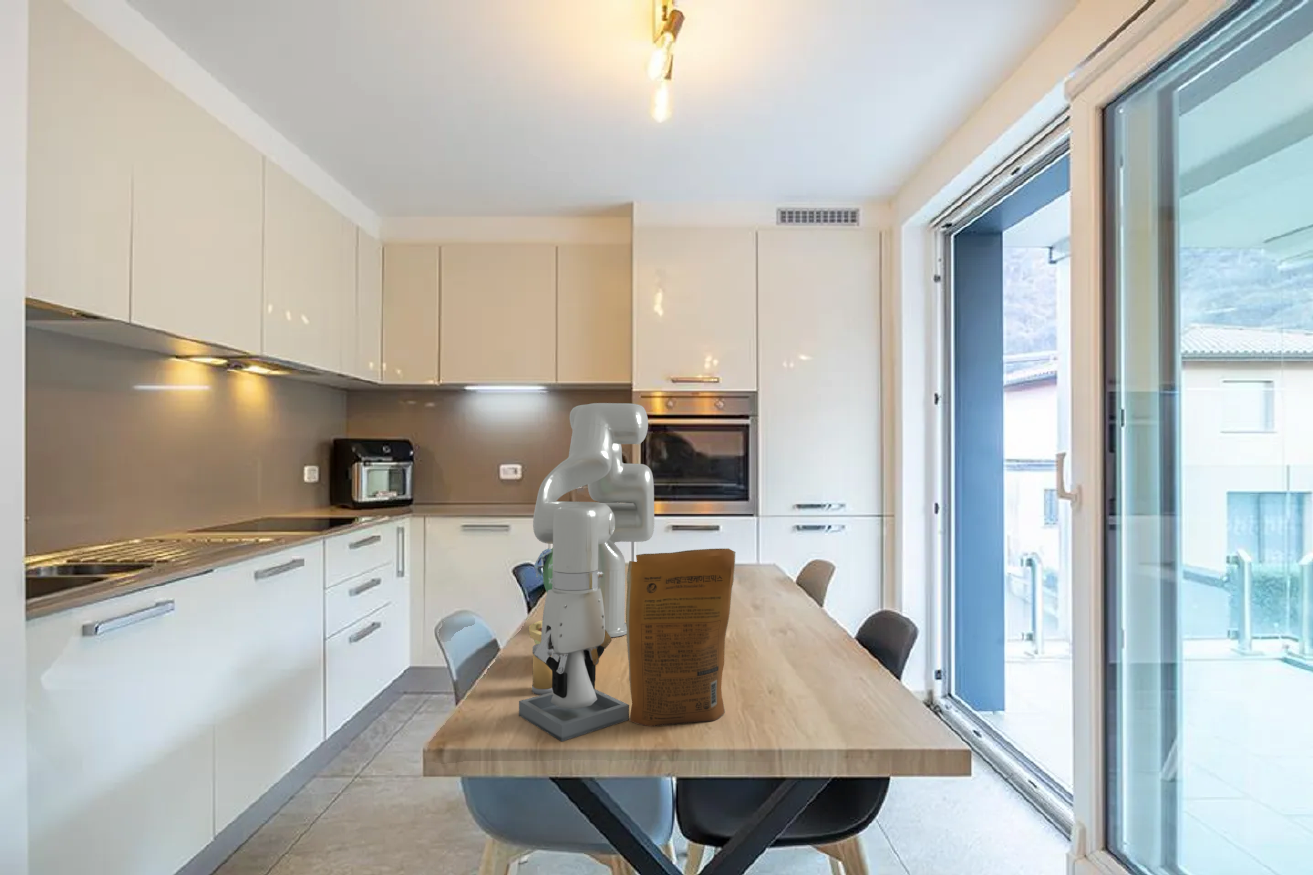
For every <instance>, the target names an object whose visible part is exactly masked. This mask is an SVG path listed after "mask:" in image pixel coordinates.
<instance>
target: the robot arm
mask: <svg viewBox="0 0 1313 875" xmlns="http://www.w3.org/2000/svg"><path fill="white" fill-rule="evenodd" d="M569 424H570V427H571V429H572V431H571V432H572V434H571V440H570V446H569V450H568V451H569V452H568V457H567V458H565V459H564V460H563V461H561V462H560V463H559V464H557V465H556V466H555V467H554V468H553V469H552V470H551V471H550V472H549V473H548V474H547V475H546V476H545V477H544V479H543V481H542V482H541V483H540V486H539V489H538V491H537V496H536V497H537V498H536V502H535V506H534V511H533V512H534V513H533V517H532V518H533V519H532V527H533V528H532V529H533V533H534V536H535V537H536V539H537V540H538V541H539V542H541V543H543V544H552V548H553V578H552V589H551V590H548V592H546V597H545V602H544V606H543V613H542V633H541V643H540V644H539V646H538V648H537V649H536V651H535V653H534V655H535V657H537V658H538V659H540V660H541V661H543V662H544V663H545V664H546V665H547V666H548V667H549V669H551V670H552V690H553V693H554V694H555V695H557V696H559V697H561V698H565V697H566V695H567V673H566V672H564V668H565V664H566V660H567V655H568V654H569V653H573V652H578V651H582V650H583V655H584V661H585V666H586V669H587V672H588V675H589V678H590V681H591V683H592V686H593V689H596V677H597V676H596V667H597V666H596V665H599V662H600V658H601V656H602V655H603V654H604V651H605V649H606V648H607V647H608V646H609V645H610V644H611V642H612V641H613V639H612V638H617V637H622V636H625V635H627V626H626V597H625V596H626V560H625V556H624V554H623V553H622V551H621V550H620V549H619V547H618V546H617V545H616V543H620V542H622V543H623V542H625V543H629V542H630V543H635V542H636V543H640V542H641V543H643V542H647V541H649V540H650V539H651V538H652V537H653V535H654V531H655V486H654V477H653V472H652V469H651V468H650V467H649V466H648V465H646V464H643V463H624V462H623V452H622V451H623V448H622V445H640V444H642V442H644V440H645V439H646V438H647V437H646V436H647V434H648V430H649V429H648V428H649V419H648V414H647V411H646V409H645V408H644V406H643V405H641V404H637V403H628V402H627V403H623V402H622V403H619V402H617V403H614V402H612V403H611V402H608V403H607V402H598V403H597V402H594V403H593V402H592V403H589V404H581V405H580V404H579V405H576V406H574V407H573V408H572V409H571V411H570V412H569ZM585 486H587V490H588V494H589V496H590V498H591V499H592V500H593V501H565V500H564V501H562V500H561V501H559V499H561V497H563V495H566V494H567V493H569V492H571V491H574V490H576V489H579V488H583V487H585ZM550 649H553V651H552V655H551V656H549V655H548V653H547V652H548V650H550Z"/></svg>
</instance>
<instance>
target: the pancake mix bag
mask: <svg viewBox="0 0 1313 875" xmlns="http://www.w3.org/2000/svg"><path fill="white" fill-rule="evenodd" d="M635 557H636V561H633V560H629V561H628V568H627V574H626V597H625V623H626V626H627V634H626V646H627V659H628V675H629V676H628V679H629V680H628V681H629V689H630V697H631V708H630V712H629V720H628V721H629V722H632V723H634V724H637V725H641V726H643V727H644V726H645V727H661V726H671V725H679V724H680V725H681V724H691V723H692V724H693V723H701V722H702V723H703V722H714V721H716V720H719V719H720V718H721V717H723V716H724V714H725V713H726V709H725V706H724V705H725V704H724V699H723V693H722V684H723V683H722V682H723V681H722V680H723V671H724V667H725V654H726V653H725V650H726V649H725V648H726V635H727V630H728V625H729V622H730V621H729V619H730V614H731V605H732V594H733V593H732V592H733V591H732V590H733V585H734V581H735V568H736V551H734V550H733V549H730V548H703V549H702V548H701V549H690V550H682V551H681V550H680V551H675V552H657V553H656V552H655V553H640V554H635Z"/></svg>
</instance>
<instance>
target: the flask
mask: <svg viewBox="0 0 1313 875" xmlns="http://www.w3.org/2000/svg"><path fill="white" fill-rule="evenodd" d="M564 672H566V673H567V695H566V697H565V698H561V697H559V696H557V695H555V694H553V696H552V699H551V703H553V704H554V705H556V706H557V707H560V708H567V709H579V708H583V707H587V706H591V705H592V704H593V703H594V702H595V701H596V700H597V697H596V694H595V691H594V689H593V686H592V683H591V681H590V678H589V675H588V672H587V669H586V666H585V661H584V655H583V650H582V651H578V652H573V653H569V654H568V655H567V660H566V664H565V668H564Z"/></svg>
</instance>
